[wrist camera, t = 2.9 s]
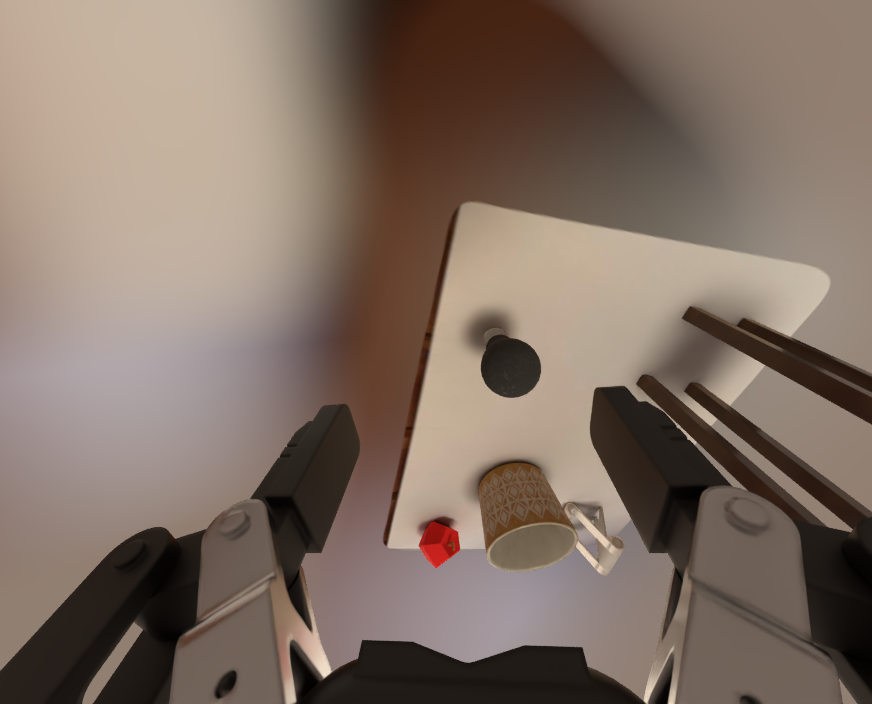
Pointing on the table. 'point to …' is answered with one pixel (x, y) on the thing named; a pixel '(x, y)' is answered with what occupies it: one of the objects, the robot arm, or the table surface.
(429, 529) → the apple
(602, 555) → the tablet stand
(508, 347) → the light bulb
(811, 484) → the walnut stand
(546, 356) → the table surface
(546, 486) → the planter
